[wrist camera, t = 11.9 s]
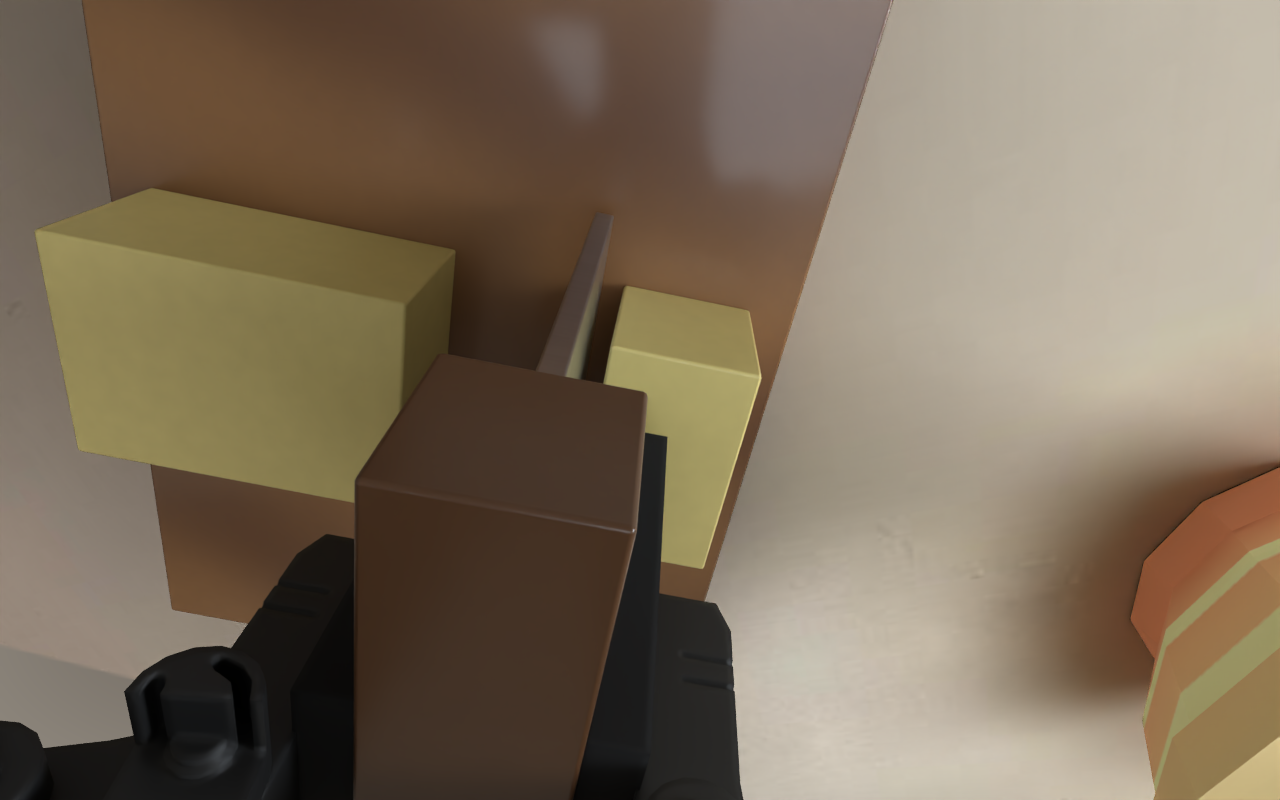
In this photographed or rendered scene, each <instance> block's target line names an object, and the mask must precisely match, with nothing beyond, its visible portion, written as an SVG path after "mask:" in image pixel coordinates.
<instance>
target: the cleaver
mask: <svg viewBox="0 0 1280 800" xmlns="http://www.w3.org/2000/svg"><path fill="white" fill-rule="evenodd" d="M613 219H614V217H613V216H612V215H608V214H603V213H598V212H597V213H596V214H595V216H594V219H593V221H592V224H591V227H590V229H589V232H588V235H587V237H586V240H585V242H584V245H583V248H582V250H581V253H580V256H579V258H578V261H577V263H576V266H575V269H574V271H573V274H572V277H571V279H570V282H569V284H568V287H567V290H566V292H565V295H564V298H563V300H562V303H561V305H560V308H559V311H558V313H557V316H556V319H555V321H554V324H553V326H552V329H551V332H550V334H549V337H548V340H547V342H546V345H545V347H544V350H543V353H542V355H541V358H540V361H539V363H538V366H537V368H536V371H534V370H528V369H523V368H518V367H513V366H507V365H502V364H497V363H492V362H486V361H481V360H476V359H471V358H465V357H460V356H455V355H450V354H444V353H441V354H438V355H437V356H436V358H435V359H434V361H433V362H432V364H431V365H430V367H429V368H428V370H427V371H426V373H425V374H424V376H423V377H422V379H421V380H420V382H419V383H418V385H417V386H416V388H415V389H414V391H413V392H412V394H411V395H410V397H409V398H408V400H407V401H406V403H405V404H404V406H403V407H402V409H401V410H400V412H399V413H398V415H397V416H396V418H395V419H394V421H393V423H392V424H391V426H390V427H389V429H388V430H387V432H386V433H385V435H384V436H383V438H382V439H381V441H380V442H379V444H378V445H377V447H376V448H375V450H374V451H373V453H372V454H371V456H370V457H369V459H368V460H367V462H366V463H365V465H364V466H363V468H362V469H361V471H360V472H359V474H358V475H357V477H356V479H355V480H354V738H353V800H573V798H574V793H575V789H576V785H577V781H578V777H579V772H580V768H581V764H582V760H583V756H584V751H585V747H586V743H587V739H588V735H589V730H590V726H591V722H592V718H593V714H594V709H595V705H596V701H597V697H598V693H599V688H600V684H601V680H602V676H603V672H604V667H605V663H606V659H607V655H608V651H609V646H610V642H611V638H612V634H613V630H614V625H615V621H616V617H617V613H618V609H619V604H620V600H621V596H622V592H623V588H624V583H625V579H626V575H627V571H628V567H629V562H630V558H631V554H632V550H633V546H634V541H635V537H636V533H637V523H638V511H639V499H640V487H641V475H642V463H643V451H644V439H645V427H646V415H647V403H648V396H647V393H645V392H643V391H639V390H633V389H628V388H623V387H618V386H612V385H607V384H602V383H597V382H591V381H586V374H587V369H588V363H589V357H590V351H591V346H592V340H593V334H594V328H595V322H596V317H597V311H598V305H599V299H600V294H601V288H602V282H603V276H604V271H605V265H606V259H607V253H608V248H609V242H610V236H611V230H612V225H613Z"/></svg>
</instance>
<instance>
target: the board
mask: <svg viewBox="0 0 1280 800" xmlns="http://www.w3.org/2000/svg"><path fill="white" fill-rule="evenodd" d="M892 3H893V0H82V6H83V12H84V19H85V26H86V33H87V39H88V46H89V53H90V60H91V66H92V73H93V80H94V87H95V93H96V100H97V107H98V113H99V120H100V127H101V134H102V140H103V147H104V154H105V161H106V167H107V174H108V181H109V188H110V194H111V201H112V202H113V201H116V200H119V199H122V198H124V197H127V196H130V195H133V194H136V193H138V192H141V191H144V190H147V189H149V188H155V189H159V190H164V191H169V192H174V193H179V194H184V195H189V196H194V197H199V198H204V199H209V200H213V201H218V202H223V203H228V204H233V205H238V206H243V207H248V208H253V209H258V210H262V211H267V212H272V213H277V214H282V215H287V216H292V217H297V218H302V219H307V220H311V221H316V222H321V223H326V224H331V225H336V226H341V227H346V228H351V229H356V230H360V231H365V232H370V233H375V234H380V235H385V236H390V237H395V238H400V239H405V240H410V241H414V242H419V243H424V244H429V245H434V246H439V247H444V248H449V249H453V250H455V266H454V279H453V293H452V306H451V319H450V332H449V345H448V354H450V355H455V356H460V357H465V358H471V359H476V360H481V361H486V362H492V363H497V364H502V365H507V366H513V367H518V368H523V369H528V370H534V371H536V368H537V366H538V363H539V361H540V358H541V355H542V353H543V350H544V347H545V345H546V342H547V340H548V337H549V334H550V332H551V329H552V326H553V324H554V321H555V319H556V316H557V313H558V311H559V308H560V305H561V303H562V300H563V298H564V295H565V292H566V290H567V287H568V284H569V282H570V279H571V277H572V274H573V271H574V269H575V266H576V263H577V261H578V258H579V256H580V253H581V250H582V248H583V245H584V242H585V240H586V237H587V235H588V232H589V229H590V227H591V224H592V221H593V219H594V216H595V214H596V213H597V212H598V213H603V214H608V215H612V216H613V217H614V219H613V225H612V230H611V236H610V242H609V248H608V253H607V259H606V265H605V271H604V276H603V282H602V288H601V294H600V299H599V305H598V311H597V317H596V322H595V328H594V334H593V340H592V346H591V351H590V357H589V363H588V369H587V374H586V381H591V382H597V383H602V384H603V382H604V377H605V372H606V367H607V361H608V356H609V351H610V346H611V342H612V337H613V333H614V328H615V324H616V320H617V315H618V311H619V306H620V302H621V298H622V293H623V289H624V287H625V286H631V287H636V288H641V289H646V290H651V291H656V292H661V293H665V294H670V295H675V296H680V297H685V298H690V299H695V300H700V301H705V302H709V303H714V304H719V305H724V306H729V307H734V308H739V309H744V310H748V311H749V312H750V318H751V323H752V328H753V334H754V339H755V345H756V350H757V356H758V361H759V366H760V372H761V378H762V379H761V382H760V385H759V388H758V392H757V395H756V398H755V402H754V405H753V408H752V411H751V415H750V418H749V421H748V424H747V428H746V431H745V434H744V438H743V441H742V444H741V447H740V451H739V454H738V457H737V460H736V464H735V467H734V470H733V474H732V477H731V480H730V483H729V487H728V490H727V493H726V496H725V500H724V503H723V506H722V510H721V513H720V516H719V519H718V523H717V526H716V529H715V532H714V536H713V539H712V542H711V546H710V549H709V552H708V555H707V559H706V562H705V565H704V567H703V569H698V568H693V567H687V566H682V565H677V564H672V563H666V562H661V571H660V590H659V593H661V594H666V595H672V596H677V597H682V598H688V599H693V600H699V601H705V598H706V595H707V592H708V589H709V585H710V582H711V579H712V576H713V573H714V570H715V566H716V563H717V560H718V557H719V554H720V550H721V547H722V544H723V541H724V538H725V535H726V531H727V528H728V525H729V522H730V519H731V515H732V512H733V509H734V506H735V503H736V500H737V496H738V493H739V490H740V487H741V484H742V480H743V477H744V474H745V471H746V468H747V465H748V461H749V458H750V455H751V452H752V449H753V445H754V442H755V439H756V436H757V433H758V430H759V426H760V423H761V420H762V417H763V414H764V410H765V407H766V404H767V401H768V398H769V395H770V391H771V388H772V385H773V382H774V379H775V375H776V372H777V369H778V366H779V363H780V360H781V356H782V353H783V350H784V347H785V344H786V341H787V337H788V334H789V331H790V328H791V325H792V321H793V318H794V315H795V312H796V309H797V306H798V302H799V299H800V296H801V293H802V290H803V286H804V283H805V280H806V277H807V274H808V271H809V267H810V264H811V261H812V258H813V255H814V251H815V248H816V245H817V242H818V239H819V236H820V232H821V229H822V226H823V223H824V220H825V216H826V213H827V210H828V207H829V204H830V201H831V197H832V194H833V191H834V188H835V185H836V181H837V178H838V175H839V172H840V169H841V166H842V162H843V159H844V156H845V153H846V150H847V146H848V143H849V140H850V137H851V134H852V131H853V127H854V124H855V121H856V118H857V115H858V112H859V108H860V105H861V102H862V99H863V96H864V92H865V89H866V86H867V83H868V80H869V77H870V73H871V70H872V67H873V64H874V61H875V57H876V54H877V51H878V48H879V45H880V42H881V38H882V35H883V32H884V29H885V26H886V22H887V19H888V16H889V13H890V10H891V7H892ZM151 471H152V478H153V484H154V491H155V498H156V505H157V511H158V518H159V525H160V532H161V538H162V545H163V552H164V559H165V565H166V572H167V579H168V586H169V592H170V599H171V606H172V609H173V610H177V611H182V612H188V613H193V614H199V615H204V616H209V617H215V618H220V619H226V620H231V621H237V622H242V623H249V622H250V620H251V619H252V618H253V616H254V615H255V613H256V612H257V610H258V609H259V608H262V606H263V602H264V600H265V599H266V597H267V596H268V595H269V593H270V592H271V590H272V589H273V587H274V586H277V584H278V580H279V579H280V577H281V576H282V574H283V573H284V572H285V570H286V569H287V567H288V566H289V564H290V563H291V561H292V560H293V559H294V557H295V556H296V554H297V553H299V552H300V551H302V550H303V549H305V548H306V547H308V546H309V545H311V544H312V543H313V542H315V541H316V540H318V539H319V538H321V537H322V536H324V535H325V534H331V535H336V536H341V537H347V538H352V539H354V503H352V502H347V501H342V500H337V499H331V498H326V497H321V496H316V495H310V494H305V493H300V492H294V491H289V490H284V489H279V488H273V487H268V486H263V485H258V484H252V483H247V482H242V481H236V480H231V479H226V478H221V477H215V476H210V475H205V474H200V473H194V472H189V471H184V470H178V469H173V468H168V467H163V466H157V465H152V464H151Z"/></svg>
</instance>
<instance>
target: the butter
mask: <svg viewBox="0 0 1280 800" xmlns="http://www.w3.org/2000/svg"><path fill="white" fill-rule="evenodd" d="M34 233H35V238H36V243H37V248H38V253H39V257H40V262H41V267H42V272H43V277H44V282H45V287H46V292H47V297H48V302H49V307H50V312H51V317H52V322H53V327H54V332H55V337H56V342H57V347H58V352H59V357H60V361H61V366H62V371H63V376H64V381H65V386H66V391H67V396H68V401H69V406H70V411H71V416H72V421H73V426H74V431H75V436H76V441H77V446H78V449H79V450H80V451H84V452H89V453H94V454H99V455H105V456H110V457H115V458H121V459H126V460H131V461H136V462H142V463H147V464H152V465H157V466H163V467H168V468H173V469H178V470H184V471H189V472H194V473H200V474H205V475H210V476H215V477H221V478H226V479H231V480H236V481H242V482H247V483H252V484H258V485H263V486H268V487H273V488H279V489H284V490H289V491H294V492H300V493H305V494H310V495H316V496H321V497H326V498H331V499H337V500H342V501H347V502H352V503H354V480H355V479H356V477H357V475H358V474H359V472H360V471H361V469H362V468H363V466H364V465H365V463H366V462H367V460H368V459H369V457H370V456H371V454H372V453H373V451H374V450H375V448H376V447H377V445H378V444H379V442H380V441H381V439H382V438H383V436H384V435H385V433H386V432H387V430H388V429H389V427H390V426H391V424H392V423H393V421H394V419H395V418H396V416H397V415H398V413H399V412H400V410H401V409H402V407H403V406H404V404H405V403H406V401H407V400H408V398H409V397H410V395H411V394H412V392H413V391H414V389H415V388H416V386H417V385H418V383H419V382H420V380H421V379H422V377H423V376H424V374H425V373H426V371H427V370H428V368H429V367H430V365H431V364H432V362H433V361H434V359H435V358H436V356H437V355H438V354H441V353H444V354H448V345H449V332H450V319H451V306H452V293H453V279H454V266H455V250H453V249H449V248H444V247H439V246H434V245H429V244H424V243H419V242H414V241H410V240H405V239H400V238H395V237H390V236H385V235H380V234H375V233H370V232H365V231H360V230H356V229H351V228H346V227H341V226H336V225H331V224H326V223H321V222H316V221H311V220H307V219H302V218H297V217H292V216H287V215H282V214H277V213H272V212H267V211H262V210H258V209H253V208H248V207H243V206H238V205H233V204H228V203H223V202H218V201H213V200H209V199H204V198H199V197H194V196H189V195H184V194H179V193H174V192H169V191H164V190H159V189H155V188H149V189H147V190H144V191H141V192H138V193H136V194H133V195H130V196H127V197H124V198H122V199H119V200H116V201H113V202H111V203H108V204H105V205H102V206H100V207H97V208H94V209H91V210H88V211H86V212H83V213H80V214H77V215H75V216H72V217H69V218H66V219H63V220H61V221H58V222H55V223H52V224H50V225H47V226H44V227H41V228H38V229H36V230H35V232H34Z"/></svg>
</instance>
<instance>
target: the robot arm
mask: <svg viewBox="0 0 1280 800" xmlns="http://www.w3.org/2000/svg"><path fill="white" fill-rule="evenodd" d="M667 438H668V437H666V436H661V435H656V434H651V433H646V432H645V439H644V451H643V463H642V475H641V487H640V499H639V511H638V523H637V533H636V537H635V541H634V546H633V550H632V554H631V558H630V562H629V567H628V571H627V575H626V579H625V583H624V588H623V592H622V596H621V600H620V604H619V609H618V613H617V617H616V621H615V625H614V630H613V634H612V638H611V642H610V646H609V651H608V655H607V659H606V663H605V667H604V672H603V676H602V680H601V684H600V688H599V693H598V697H597V701H596V705H595V709H594V714H593V718H592V722H591V726H590V730H589V735H588V739H587V743H586V747H585V751H584V756H583V760H582V764H581V768H580V772H579V777H578V781H577V785H576V789H575V793H574V798H573V800H743V796H742V790H741V785H740V774H739V758H738V741H737V725H736V709H735V692H734V691H733V688H734V676H733V667H732V661H733V660H732V643H731V631H730V629H729V627H728V625H727V623H726V622H725V620H724V618H723V616H722V614H721V612H720V610H719V608H718V607H717V605H716V604H715V603H709V602H704V601H699V600H693V599H688V598H682V597H677V596H672V595H666V594H661V593H659V590H660V571H661V552H662V533H663V514H664V495H665V476H666V457H667ZM124 692H125V697H126V701H127V707H128V711H129V716H130V720H131V725H132V730H133V734H134V735H133V736H130V737H125V738H120V739H115V740H110V741H101V742H93V743H84V744H76V745H67V746H58V747H51V748H43V747H42V744H41V742H40V739H39V737H38V734H37V733H36V732H34V731H33V730H31V729H29V728H28V727H26V726H24V725H23V724H21V723H17V722H8V721H0V800H353V738H354V539H352V538H347V537H341V536H336V535H331V534H325V535H324V536H322V537H321V538H319V539H318V540H316V541H315V542H313V543H312V544H311V545H309V546H308V547H306V548H305V549H303V550H302V551H300V552H299V553H297V554H296V556H295V557H294V559H293V560H292V561H291V563H290V564H289V566H288V567H287V569H286V570H285V572H284V573H283V574H282V576H281V577H280V579H279V580H278V584H277V586H274V587H273V589H272V590H271V592H270V593H269V595H268V596H267V597H266V599H265V600H264V602H263V606H262V608H259V609H258V610H257V612H256V613H255V615H254V616H253V618H252V619H251V620H250V622H249V623H248V625H247V626H246V628H245V629H244V630H243V632H242V633H241V635H240V636H239V638H238V639H237V641H236V642H235V643H234V645H233V646H232V648H227V647H223V646H213V647H197V648H192V649H189V650H186V651H182V652H179V653H176V654H173V655H170V656H167V657H165V658H164V659H162V660H160V661H159V662H157V663H156V664H154V665H152V666H151V667H149V668H148V669H146V670H144V671H143V672H142V673H141V674H140V675H139V676H138V677H137V678H136V679H135V680H134V681H133V683H132V684H131V685H130V686H129V687H128V688H127V689H126V690H125V691H124Z"/></svg>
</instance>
